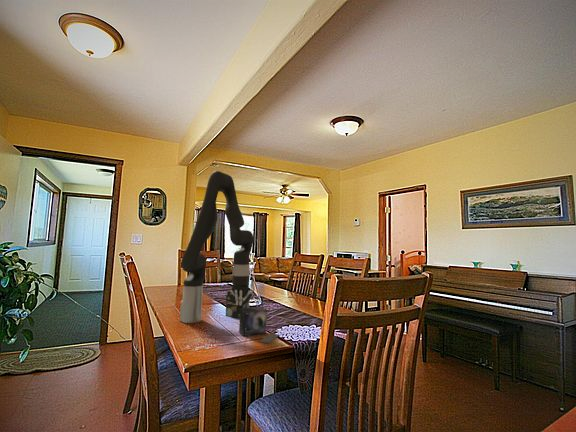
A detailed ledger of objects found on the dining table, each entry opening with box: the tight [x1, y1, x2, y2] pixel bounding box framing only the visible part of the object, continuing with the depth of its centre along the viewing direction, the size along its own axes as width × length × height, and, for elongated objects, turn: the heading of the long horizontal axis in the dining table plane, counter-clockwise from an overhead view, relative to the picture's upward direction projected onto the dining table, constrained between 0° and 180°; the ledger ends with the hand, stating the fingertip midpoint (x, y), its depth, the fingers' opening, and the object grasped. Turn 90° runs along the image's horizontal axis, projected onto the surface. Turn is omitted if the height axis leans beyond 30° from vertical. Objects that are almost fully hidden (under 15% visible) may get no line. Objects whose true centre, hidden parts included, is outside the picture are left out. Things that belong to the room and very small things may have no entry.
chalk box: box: [225, 293, 250, 319], centre depth 164 cm, size 9×9×15 cm
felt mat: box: [259, 332, 280, 344], centre depth 128 cm, size 4×11×1 cm, turn 161°
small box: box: [238, 306, 268, 337], centre depth 134 cm, size 11×6×10 cm, turn 117°
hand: (239, 313), depth 137 cm, fingers closed
